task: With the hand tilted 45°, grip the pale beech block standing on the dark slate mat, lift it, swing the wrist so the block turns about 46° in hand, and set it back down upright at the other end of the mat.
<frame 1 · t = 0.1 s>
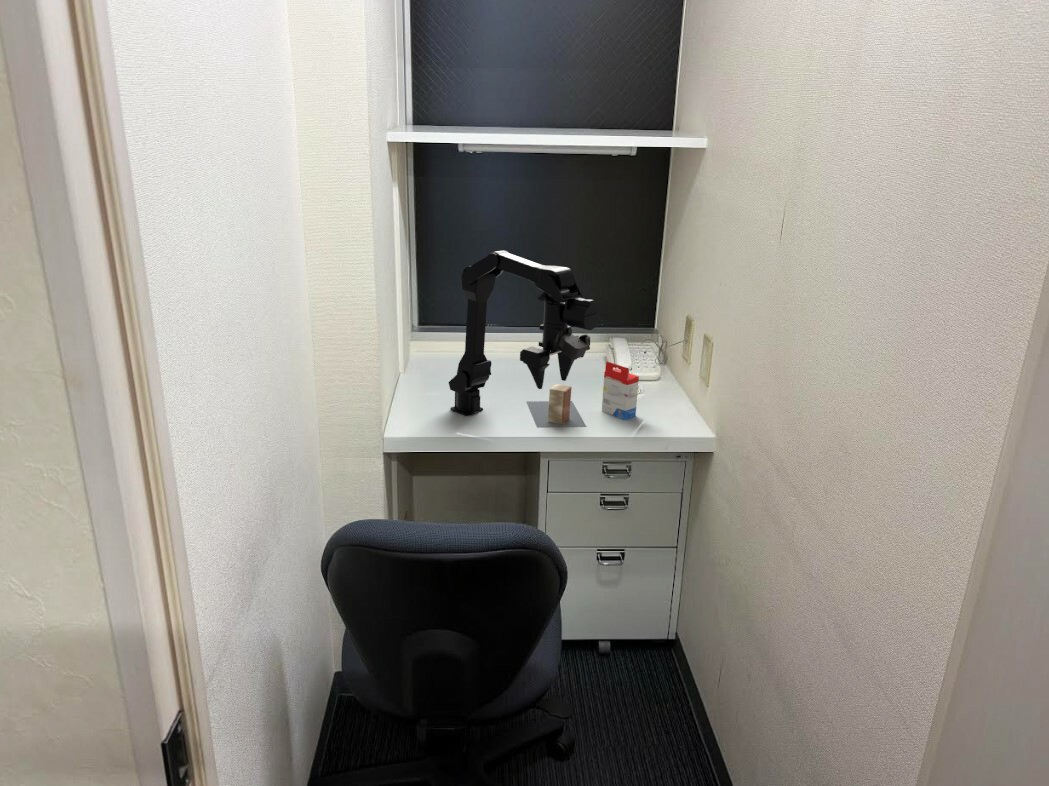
hand: (551, 384, 190), 15 cm above the table, tool pointing down, fingers open, 9 cm apart
slate mat: (555, 415, 212), on the table
beech block: (558, 420, 207), resting on slate mat
ink box: (618, 415, 214), on the table
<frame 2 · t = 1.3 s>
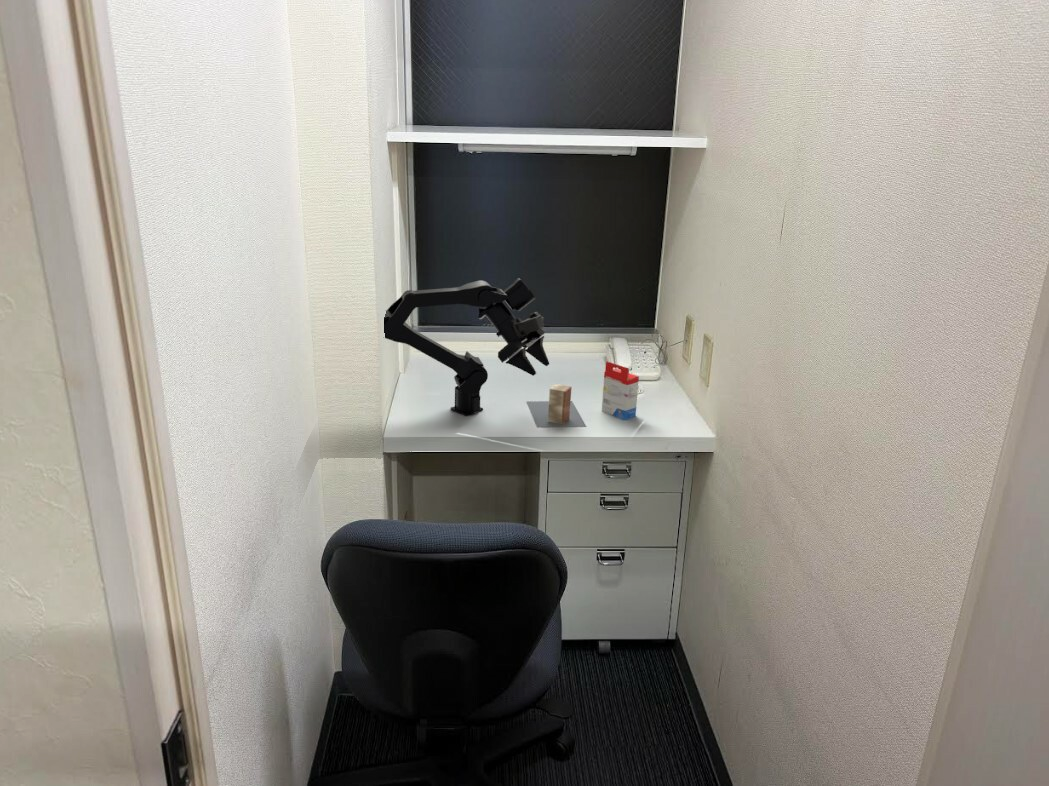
hand: (541, 369, 205), 13 cm above the table, tool tilted 45°, fingers open, 9 cm apart
nothing on the table moved.
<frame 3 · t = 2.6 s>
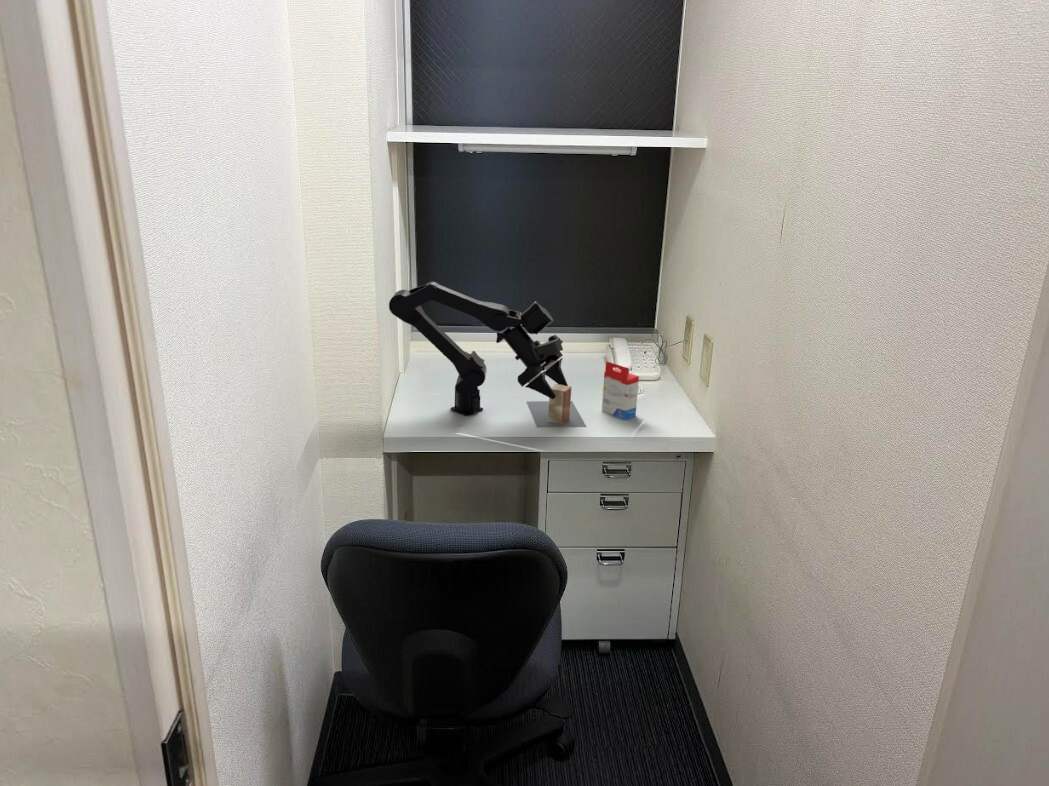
hand: (560, 392, 205), 8 cm above the table, tool tilted 45°, fingers open, 9 cm apart
nothing on the table moved.
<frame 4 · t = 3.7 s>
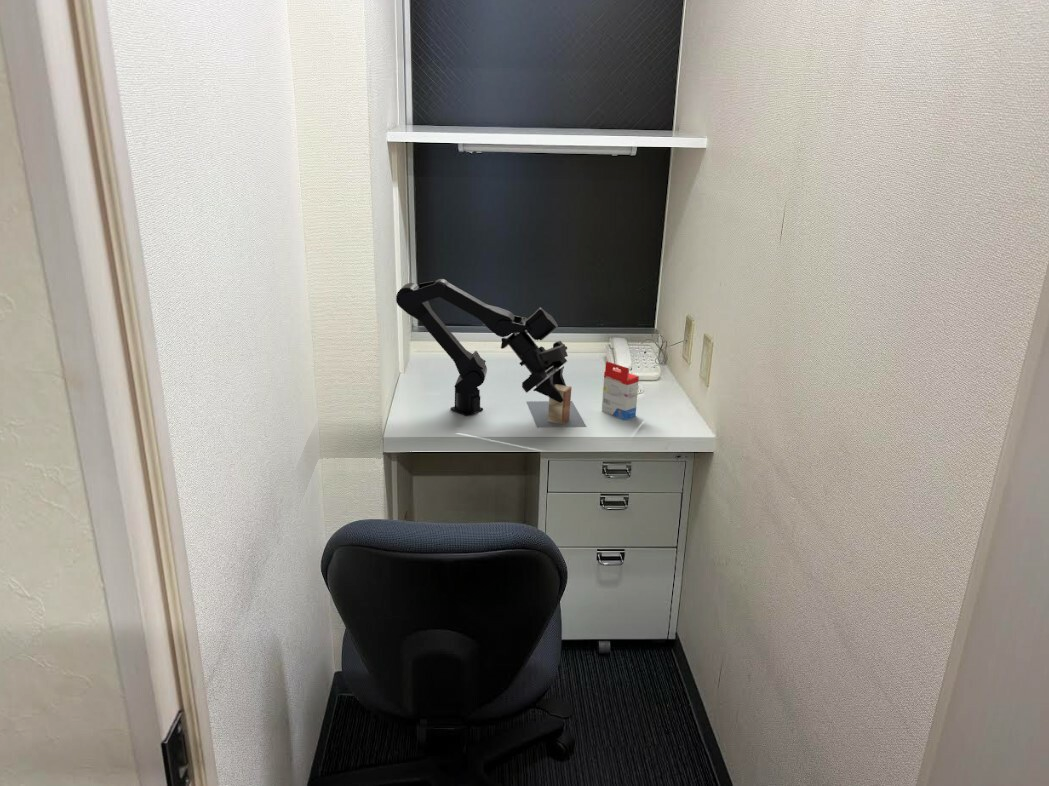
hand: (565, 398, 205), 7 cm above the table, tool tilted 45°, fingers closed on beech block, 4 cm apart
beech block: (558, 420, 207), resting on slate mat, touching gripper
everything else where it was.
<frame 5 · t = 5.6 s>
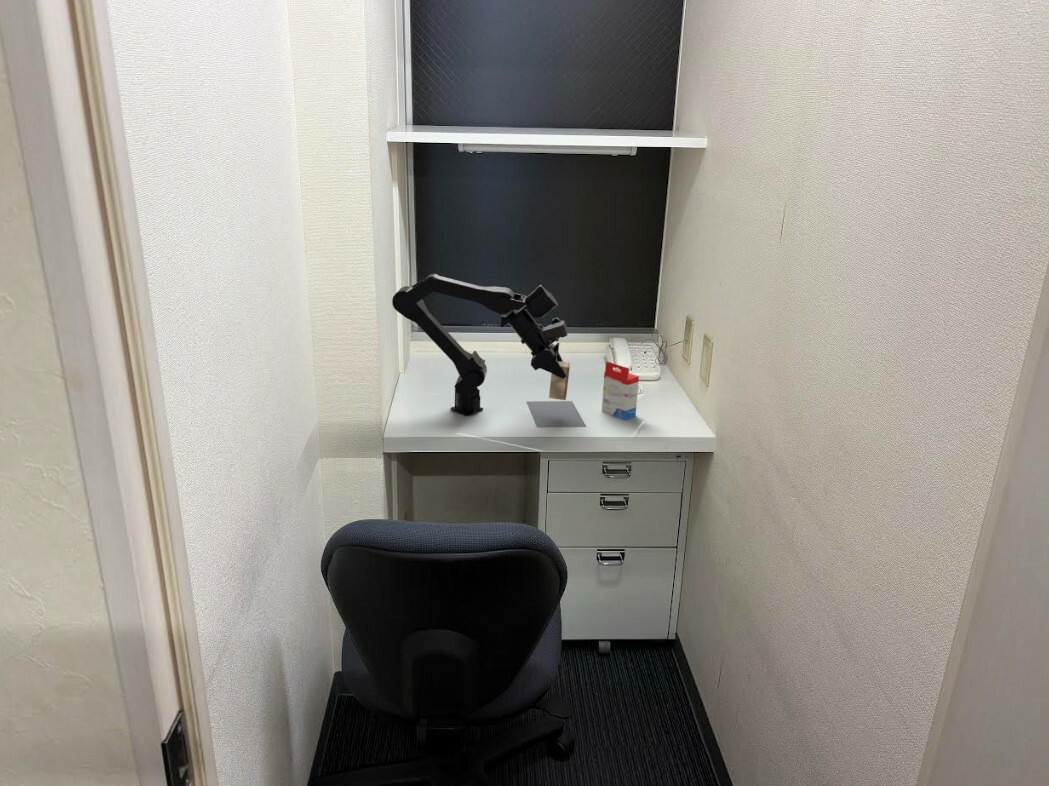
hand: (565, 374, 206), 12 cm above the table, tool tilted 45°, fingers closed on beech block, 4 cm apart
beech block: (557, 396, 208), point 6 cm above the table, touching gripper
everything else where it was.
when the fingers open (8 cm above the table, at t = 7.7 s): beech block drops 1 cm, resting on slate mat.
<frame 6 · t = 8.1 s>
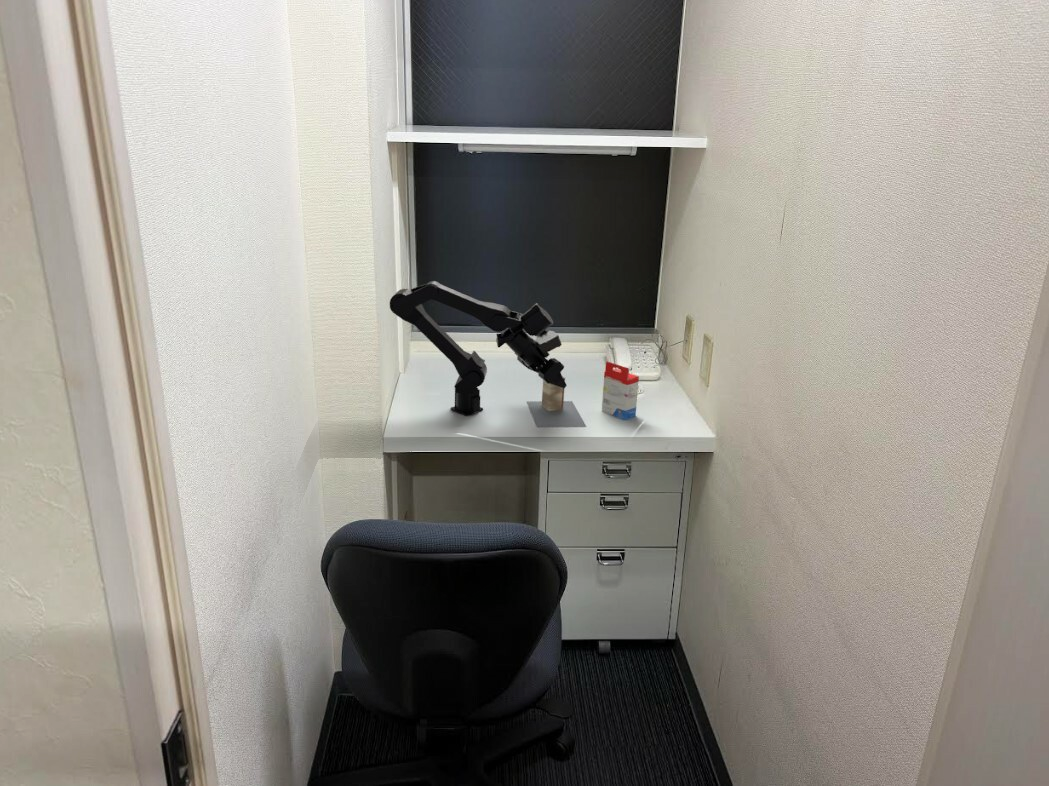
hand: (558, 381, 214), 8 cm above the table, tool tilted 45°, fingers open, 8 cm apart
beech block: (552, 407, 216), resting on slate mat
everything else where it was.
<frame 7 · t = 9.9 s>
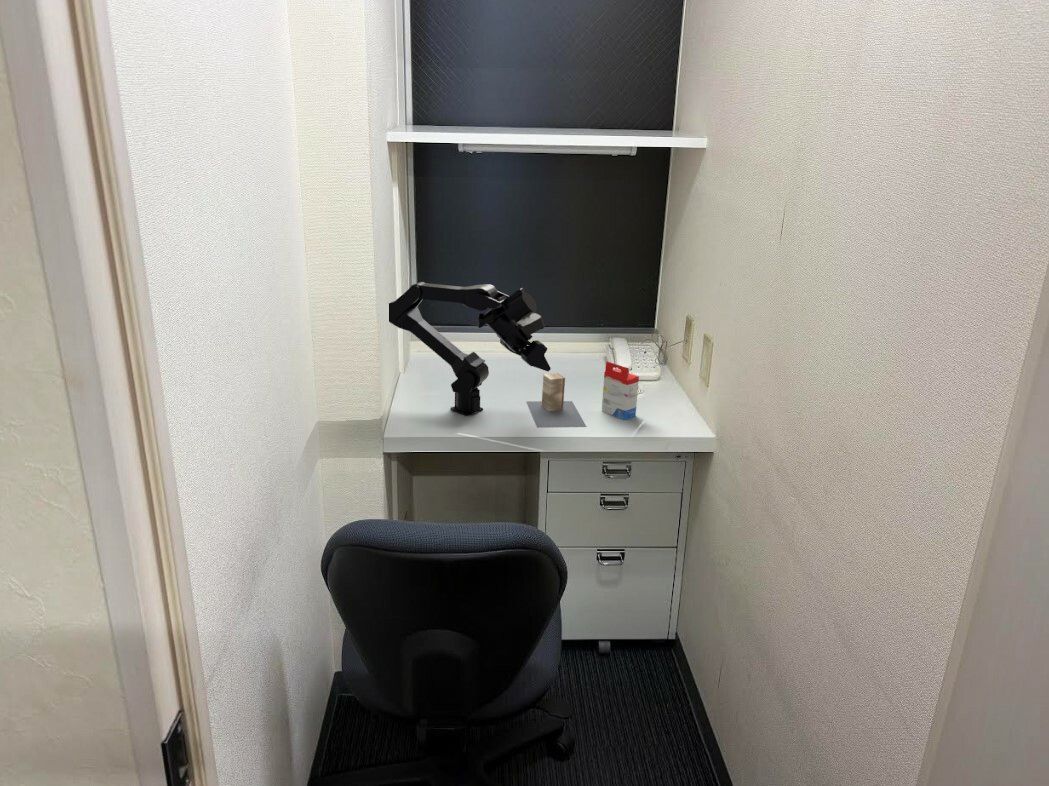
hand: (542, 365, 210), 13 cm above the table, tool tilted 45°, fingers open, 9 cm apart
nothing on the table moved.
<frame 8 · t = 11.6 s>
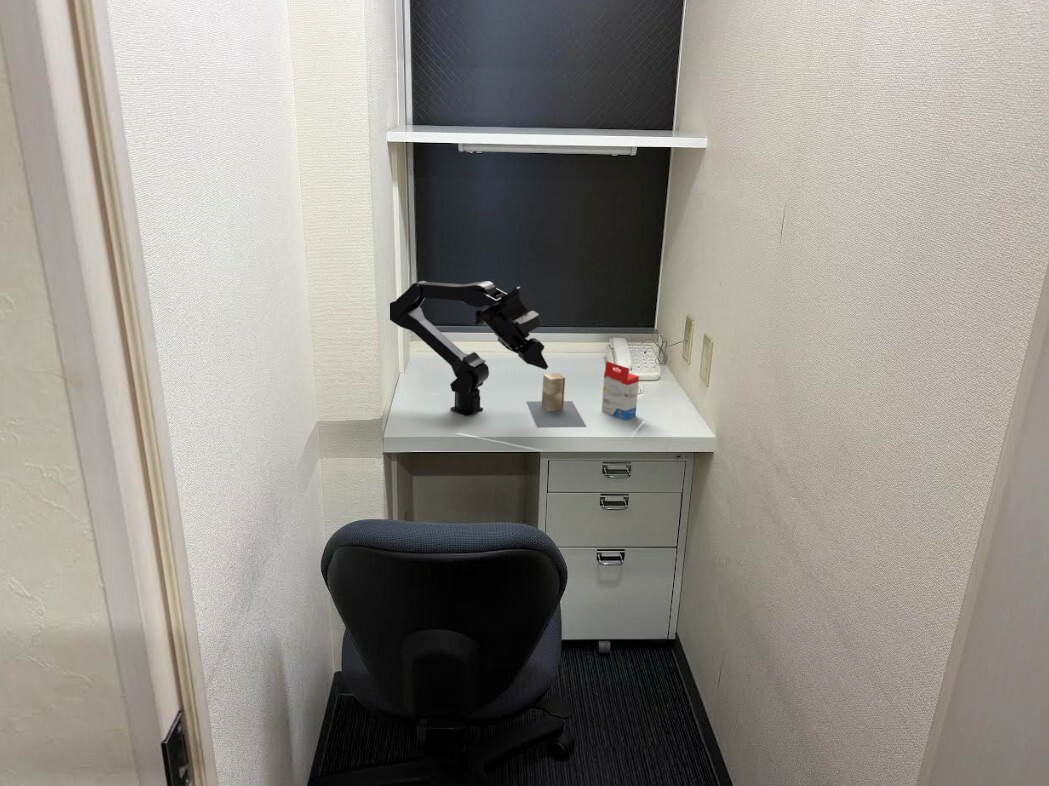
hand: (539, 363, 210), 14 cm above the table, tool tilted 45°, fingers open, 9 cm apart
nothing on the table moved.
at the end: beech block 0.1 cm from the target spot, resting on slate mat; beech block tilted 0°; beech block touching slate mat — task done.
